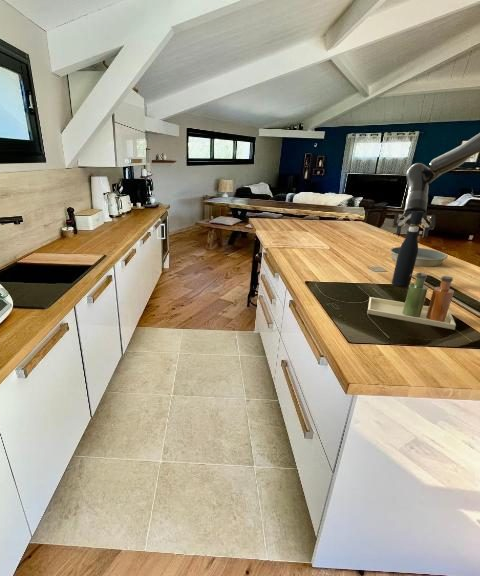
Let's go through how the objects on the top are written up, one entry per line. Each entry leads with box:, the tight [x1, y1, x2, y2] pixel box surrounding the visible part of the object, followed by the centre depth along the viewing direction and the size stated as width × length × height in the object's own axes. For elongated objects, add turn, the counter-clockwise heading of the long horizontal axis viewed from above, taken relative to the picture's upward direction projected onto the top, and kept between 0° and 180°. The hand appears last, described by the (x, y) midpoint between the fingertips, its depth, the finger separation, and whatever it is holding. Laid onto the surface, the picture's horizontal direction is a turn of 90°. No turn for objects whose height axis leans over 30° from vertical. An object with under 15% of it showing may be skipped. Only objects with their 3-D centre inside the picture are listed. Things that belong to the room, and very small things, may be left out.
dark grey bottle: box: [391, 211, 424, 288], centre depth 126 cm, size 6×6×30 cm
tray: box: [366, 296, 457, 330], centre depth 104 cm, size 23×12×2 cm, turn 60°
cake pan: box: [389, 246, 448, 268], centre depth 162 cm, size 25×25×4 cm
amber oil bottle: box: [426, 275, 455, 322], centre depth 98 cm, size 5×5×14 cm
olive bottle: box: [402, 272, 429, 317], centre depth 101 cm, size 5×5×14 cm
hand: (411, 236), depth 126 cm, fingers open, 8 cm apart
